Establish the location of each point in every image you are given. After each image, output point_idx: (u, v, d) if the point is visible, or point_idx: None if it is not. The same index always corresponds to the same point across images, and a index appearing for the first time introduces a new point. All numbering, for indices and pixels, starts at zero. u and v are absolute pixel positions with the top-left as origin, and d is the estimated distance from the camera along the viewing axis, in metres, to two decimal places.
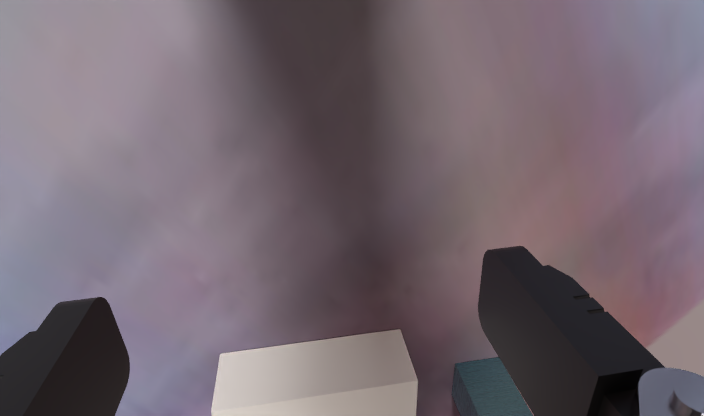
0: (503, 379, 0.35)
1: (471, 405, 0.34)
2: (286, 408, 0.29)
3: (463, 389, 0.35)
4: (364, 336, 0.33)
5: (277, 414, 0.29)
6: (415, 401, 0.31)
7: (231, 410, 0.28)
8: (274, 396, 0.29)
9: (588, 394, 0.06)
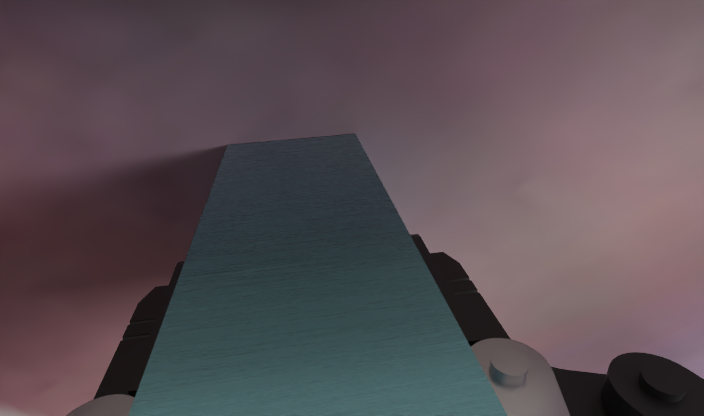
0: None
1: (351, 178, 0.10)
2: None
3: (343, 157, 0.12)
4: None
5: None
6: None
7: None
8: None
9: None
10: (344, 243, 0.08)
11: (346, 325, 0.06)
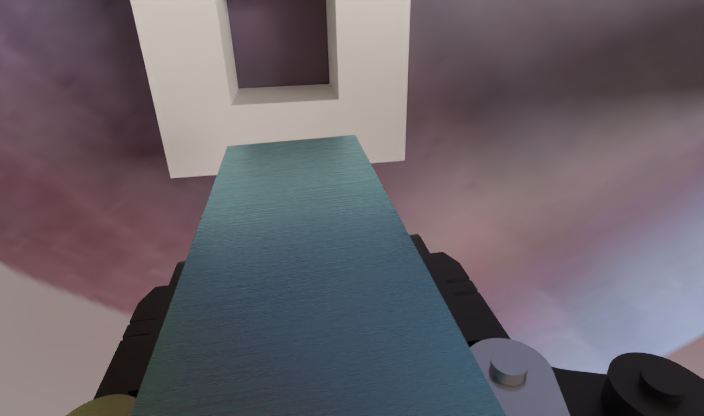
0: None
1: (351, 180, 0.10)
2: None
3: (343, 159, 0.12)
4: None
5: None
6: (370, 161, 0.26)
7: None
8: None
9: None
10: (344, 245, 0.08)
11: (346, 326, 0.06)
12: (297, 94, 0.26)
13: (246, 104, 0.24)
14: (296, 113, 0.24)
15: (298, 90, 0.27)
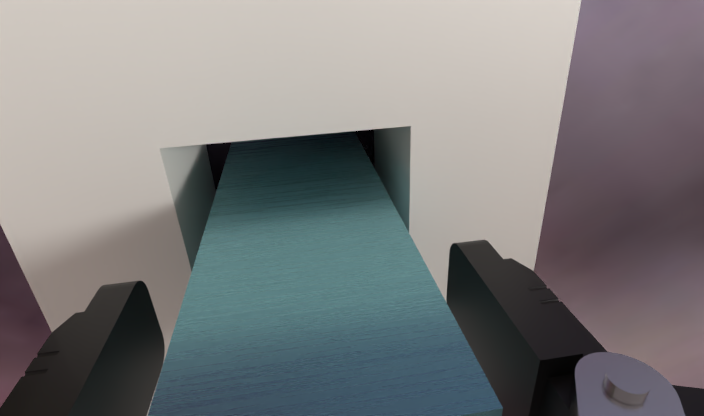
0: None
1: (343, 156, 0.12)
2: (526, 145, 0.11)
3: (337, 139, 0.13)
4: None
5: (514, 123, 0.11)
6: None
7: None
8: None
9: (533, 378, 0.07)
10: (337, 204, 0.09)
11: (336, 258, 0.08)
12: None
13: None
14: None
15: None
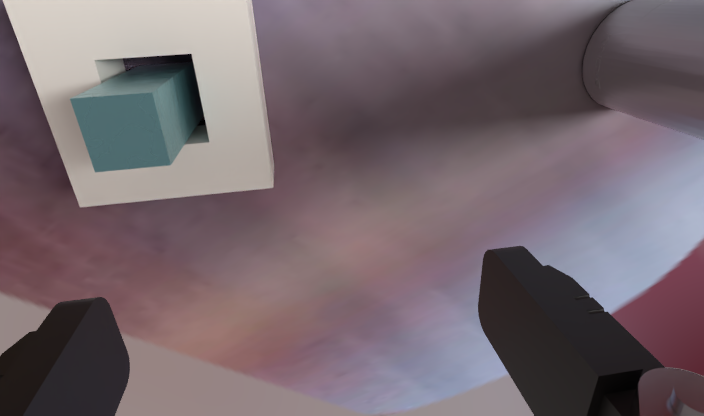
0: (198, 111, 0.32)
1: (174, 69, 0.29)
2: (242, 63, 0.28)
3: (179, 66, 0.31)
4: (269, 133, 0.36)
5: (234, 53, 0.28)
6: (244, 189, 0.32)
7: (244, 4, 0.27)
8: (254, 50, 0.29)
9: (588, 394, 0.06)
10: (155, 76, 0.27)
11: (141, 82, 0.25)
12: None
13: None
14: None
15: None
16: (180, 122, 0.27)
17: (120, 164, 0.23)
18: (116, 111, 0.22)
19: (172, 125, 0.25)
